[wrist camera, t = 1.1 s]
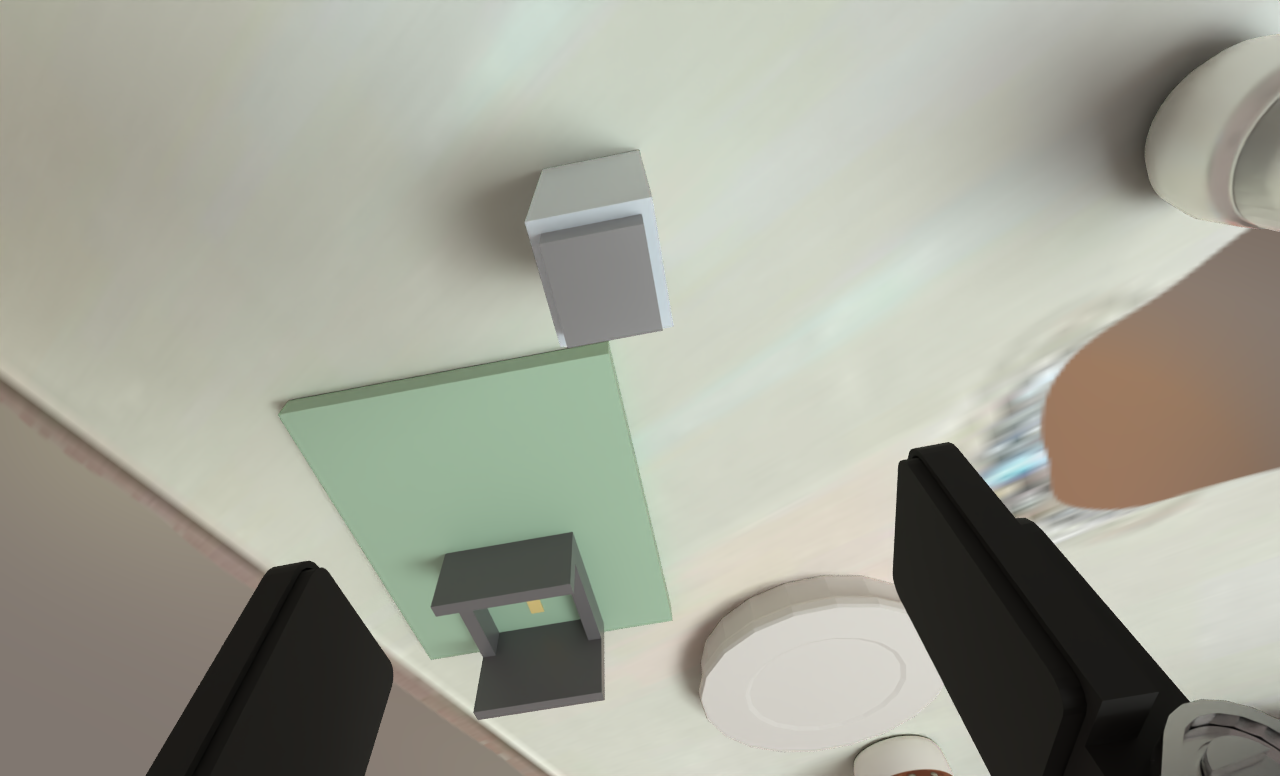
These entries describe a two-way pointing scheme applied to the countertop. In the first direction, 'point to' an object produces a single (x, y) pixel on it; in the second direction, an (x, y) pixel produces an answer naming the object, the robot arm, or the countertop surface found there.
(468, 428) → the board
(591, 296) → the plug
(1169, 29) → the countertop surface
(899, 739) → the milk bottle
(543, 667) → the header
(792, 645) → the lid
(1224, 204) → the plastic bottle
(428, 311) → the countertop surface
